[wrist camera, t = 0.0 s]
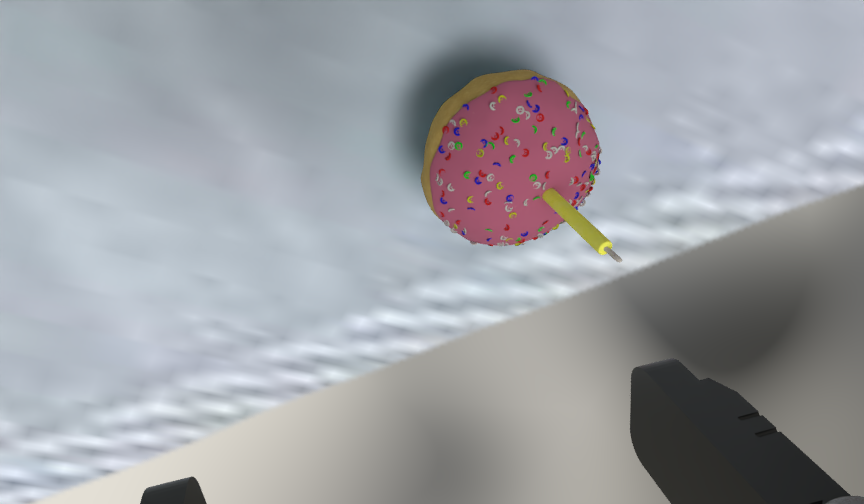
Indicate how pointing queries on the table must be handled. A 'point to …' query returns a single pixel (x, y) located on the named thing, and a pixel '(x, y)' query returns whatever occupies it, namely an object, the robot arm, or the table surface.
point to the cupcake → (512, 161)
